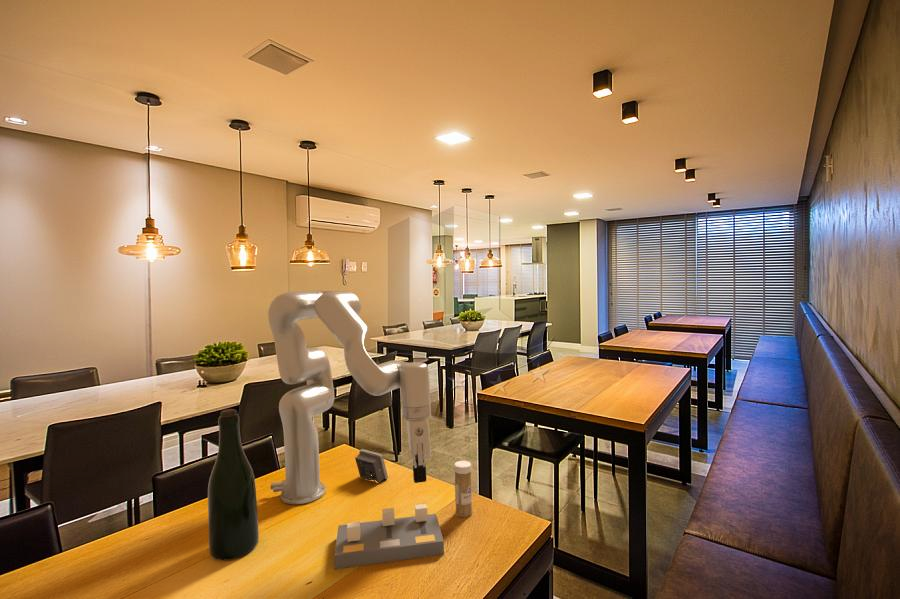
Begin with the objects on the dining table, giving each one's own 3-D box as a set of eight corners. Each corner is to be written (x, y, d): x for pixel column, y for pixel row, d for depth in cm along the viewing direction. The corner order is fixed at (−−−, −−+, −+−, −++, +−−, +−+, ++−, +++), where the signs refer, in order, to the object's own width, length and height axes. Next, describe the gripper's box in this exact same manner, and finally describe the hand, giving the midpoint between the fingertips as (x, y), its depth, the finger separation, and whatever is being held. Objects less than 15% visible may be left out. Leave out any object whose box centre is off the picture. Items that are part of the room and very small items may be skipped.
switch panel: (334, 569, 94) (334, 555, 94) (338, 537, 106) (338, 525, 106) (444, 554, 98) (443, 540, 98) (436, 525, 110) (436, 513, 110)
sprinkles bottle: (470, 519, 112) (468, 467, 112) (453, 516, 114) (451, 466, 113) (474, 510, 117) (473, 460, 116) (458, 507, 118) (456, 459, 118)
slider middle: (382, 526, 104) (382, 513, 104) (382, 521, 106) (382, 508, 106) (394, 524, 104) (394, 511, 104) (394, 520, 106) (393, 507, 106)
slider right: (416, 522, 105) (415, 509, 105) (415, 517, 107) (414, 505, 107) (427, 520, 106) (427, 507, 106) (426, 516, 108) (426, 503, 108)
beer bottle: (204, 566, 96) (196, 419, 95) (215, 539, 106) (209, 406, 105) (255, 557, 99) (248, 414, 98) (262, 532, 109) (256, 402, 108)
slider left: (347, 541, 98) (346, 527, 98) (348, 536, 100) (347, 523, 100) (360, 540, 98) (359, 526, 98) (360, 535, 100) (359, 521, 100)
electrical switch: (388, 479, 136) (386, 451, 135) (377, 488, 132) (374, 459, 131) (367, 473, 142) (364, 446, 140) (355, 481, 137) (352, 453, 136)
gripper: (434, 417, 105) (438, 492, 106) (427, 402, 120) (430, 467, 120) (403, 420, 104) (407, 496, 104) (399, 404, 119) (403, 471, 119)
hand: (420, 480), depth 112 cm, fingers closed
